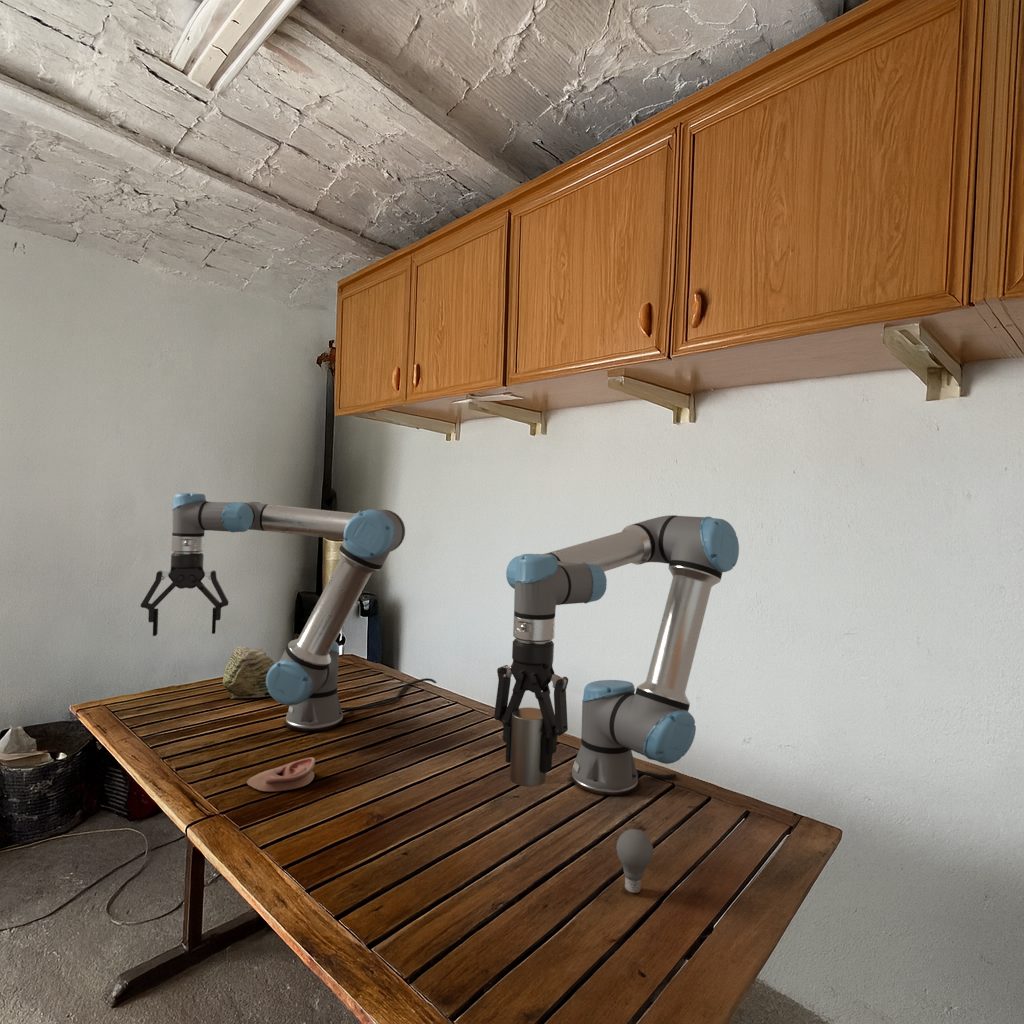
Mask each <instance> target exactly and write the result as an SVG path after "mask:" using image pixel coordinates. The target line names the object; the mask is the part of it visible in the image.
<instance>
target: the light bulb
mask: <svg viewBox="0 0 1024 1024" xmlns="http://www.w3.org/2000/svg"><path fill="white" fill-rule="evenodd" d="M615 849H616V854H617V857H618V859H619V861H620V863H621V865H622V867H623V873H624V874H623V875H624V876H625V878H624V888H625V890H627V891H628V892H630V893H634V894H635V893H639V892H640V891H641V889H642V887H641V886H642V879H643V877H644V875H645V871H646V868H647V867H648V866H649V864H650V863H651V861H652V859H653V855H654V847H653V843H652V841H651V838H649V836H648V835H647V834H646V833H645V832H643V831H642V830H641V829H636V828H629V829H627V830H625V831H623V832H622V833H621V834H620V835H619V837H618V839H617V841H616V847H615Z"/></svg>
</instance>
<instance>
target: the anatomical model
mask: <svg viewBox="0 0 1024 1024" xmlns="http://www.w3.org/2000/svg"><path fill="white" fill-rule="evenodd" d="M315 766H316V758H315V757H306V758H302V759H299V760H295V761H291V762H289V763H287V764H283V765H281V766H280V765H279V766H278V767H275V768H270V769H268V770H267V769H266V770H264V771H262V772H259V773H257V774H255V775H253V776H252V777H250V778H249V779H247V781H246V784H247V785H248V786H249V787H251V788H253V789H255V790H258V791H260V792H282V791H283V792H284V791H290V790H295V789H299V788H302V787H305V786H307V785H309V784H310V783H311V782H312V781H313V780H314V778H315V772H314V771H313V769H314V767H315Z"/></svg>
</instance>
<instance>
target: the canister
mask: <svg viewBox="0 0 1024 1024" xmlns="http://www.w3.org/2000/svg"><path fill="white" fill-rule="evenodd" d="M545 734H546V730H545V726H544V722H543V718H542V714H541V711H540V708H538V707H519V709H516V710H514V711H513V712H512V731H511V757H510V763H509V780H510V781H511V782H512V783H513V784H515V785H518V786H521V787H530V788H531V787H538V786H542V785H543V784H544V783H546V781H547V772H546V773H542V772H541V757H542V736H543V735H545Z"/></svg>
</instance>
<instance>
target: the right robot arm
mask: <svg viewBox="0 0 1024 1024" xmlns="http://www.w3.org/2000/svg"><path fill="white" fill-rule="evenodd" d="M739 554H740V543H739V538H738V536H737V532H736V530H735V528H734V527H733V526H732V524H731V523H730V522H729V521H727V520H725V519H722V518H716V517H715V518H714V517H712V516H688V515H673V514H671V515H663V516H658V517H653V518H650V519H645V520H643V521H639V522H635V523H632V524H629V525H627V526H625V527H624V528H623V529H622V531H620V532H617V533H612V534H609V535H606V536H602V537H599V538H595V539H591V540H588V541H585V542H581V543H577V544H574V545H570V546H567V547H563V548H561V549H560V548H559V549H556V550H552V551H550V552H546V553H545V552H544V553H523V554H520V555H516V556H515V557H513V558H511V560H510V561H509V563H508V564H507V565H506V571H505V573H506V574H505V575H506V576H505V577H506V581H507V583H508V585H509V586H510V588H512V589H514V599H513V600H514V602H513V603H514V604H513V608H514V609H513V628H512V637H513V638H514V639H513V640H512V651H511V658H512V663H511V665H508V664H505V665H503V666H502V665H501V666H500V667H498V668H497V669H496V672H497V678H498V683H497V690H496V697H495V705H494V714H493V718H494V719H495V720H496V721H500V722H501V724H502V741H503V742H504V743H505V763H507V764H510V757H511V731H512V712H513V711H514V710H516V709H519V708H520V706H521V704H522V701H523V698H524V696H525V693H526V692H527V691H529V692H530V693H533V694H534V697H535V699H536V700H537V702H538V706H539V709H540V711H541V714H542V718H543V722H544V726H545V730H546V734H545V735H543V736H542V757H541V772H542V773H546V774H547V772H548V771H550V770H551V769H552V768H553V754H555V753H556V752H557V748H558V737H560V736H563V734H565V733H567V732H568V730H569V725H568V723H569V722H568V707H567V704H568V703H567V688H568V684H569V678H568V677H567V676H560V675H558V674H556V673H555V670H554V668H553V667H554V666H553V664H554V653H555V643H554V641H553V640H554V639H555V634H556V633H555V629H556V628H555V627H556V625H555V624H556V622H555V621H556V611H557V610H556V609H557V606H561V605H575V604H588V603H593V602H596V601H599V600H600V599H602V598H603V597H604V595H605V594H606V591H607V580H608V579H607V575H606V573H605V572H607V571H608V572H609V571H610V570H613V569H617V568H620V567H623V566H627V565H629V564H632V565H637V566H639V565H643V564H647V563H660V564H662V563H663V564H667V565H668V567H667V569H668V571H669V572H670V574H671V575H672V579H671V582H670V583H671V584H670V588H669V591H668V594H667V599H666V602H665V607H664V610H663V614H662V617H661V622H660V625H659V629H658V633H657V636H656V640H655V644H654V649H653V652H652V656H651V660H650V664H649V668H648V671H647V675H646V679H645V681H644V682H642V683H640V684H638V685H637V686H636V688H635V685H634V683H633V682H631V681H628V680H620V679H602V680H601V679H600V680H594V681H591V682H589V683H587V684H586V685H585V686H584V689H583V696H582V701H581V702H582V703H581V706H582V707H581V737H580V738H581V739H580V747H579V749H578V752H577V755H576V757H575V760H574V762H573V765H572V770H571V780H572V782H573V783H574V784H575V785H576V786H577V787H578V788H580V789H582V790H584V791H586V792H589V793H592V794H595V795H596V794H597V795H601V796H622V795H627V794H630V793H632V792H634V791H636V789H637V788H638V786H639V775H641V776H642V775H643V776H648V777H651V778H655V779H675V778H677V774H676V773H674V774H657V773H653V772H649V771H642V770H638V769H637V766H636V763H635V760H634V756H633V752H635V753H637V754H639V755H642V756H644V757H645V758H647V759H648V760H651V761H656V762H658V763H661V764H665V765H669V764H670V765H671V764H673V763H676V762H678V761H679V760H681V759H682V758H683V757H685V755H686V754H687V753H688V751H690V749H691V747H692V745H693V742H694V740H695V736H696V730H697V725H696V720H695V718H694V716H693V715H692V714H691V713H690V712H689V710H690V706H691V705H690V704H691V702H690V700H689V699H688V697H687V694H686V691H687V687H688V683H689V679H690V675H691V671H692V668H693V663H694V658H695V655H696V651H697V647H698V644H699V639H700V635H701V631H702V627H703V623H704V619H705V615H706V611H707V606H708V603H709V599H710V595H711V591H712V588H713V587H714V586H716V585H718V584H719V583H721V582H722V581H721V580H722V577H723V574H724V573H727V572H730V571H732V570H733V568H734V567H735V566H736V565H737V563H738V560H739V556H740V555H739ZM512 676H513V678H514V680H515V682H514V685H513V688H512V693H511V696H510V699H509V695H510V691H511V690H510V689H511V681H512V679H511V678H512ZM551 682H552V688H553V689H554V690H553V703H554V704H553V703H552V698H551V690H550V686H549V684H550V683H551ZM553 706H554V707H553Z"/></svg>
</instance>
